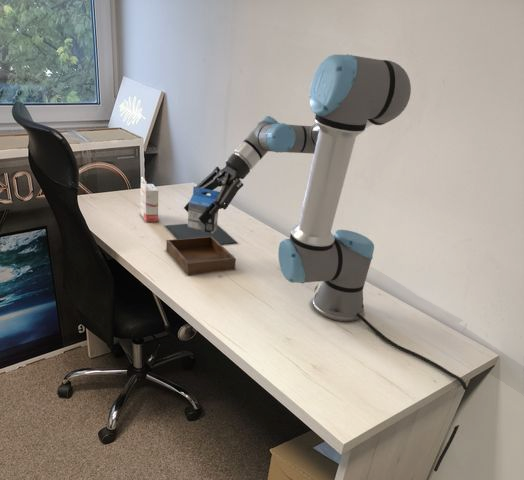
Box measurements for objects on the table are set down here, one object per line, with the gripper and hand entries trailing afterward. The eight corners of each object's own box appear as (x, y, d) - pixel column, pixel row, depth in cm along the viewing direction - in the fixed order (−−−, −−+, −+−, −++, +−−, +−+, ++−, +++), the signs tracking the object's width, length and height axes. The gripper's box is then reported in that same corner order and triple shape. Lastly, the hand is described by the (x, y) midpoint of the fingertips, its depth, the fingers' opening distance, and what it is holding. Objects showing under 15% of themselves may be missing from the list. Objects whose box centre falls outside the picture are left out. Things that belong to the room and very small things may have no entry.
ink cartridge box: (158, 221, 182) (159, 182, 174) (145, 222, 180) (145, 182, 172) (153, 213, 188) (153, 175, 180) (140, 214, 186) (139, 175, 178)
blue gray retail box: (186, 228, 152) (188, 189, 145) (191, 224, 156) (193, 186, 149) (213, 234, 151) (216, 194, 144) (217, 230, 154) (220, 191, 148)
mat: (236, 243, 175) (237, 242, 175) (185, 248, 166) (185, 247, 166) (213, 222, 189) (213, 222, 189) (165, 226, 179) (165, 225, 179)
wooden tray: (234, 269, 157) (235, 258, 155) (187, 275, 149) (188, 263, 147) (211, 246, 170) (211, 236, 168) (166, 250, 162) (166, 239, 160)
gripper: (267, 180, 145) (218, 236, 145) (230, 160, 158) (185, 211, 159) (255, 162, 139) (203, 221, 139) (217, 143, 153) (170, 197, 153)
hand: (193, 216), depth 149 cm, fingers closed on blue gray retail box, 9 cm apart
